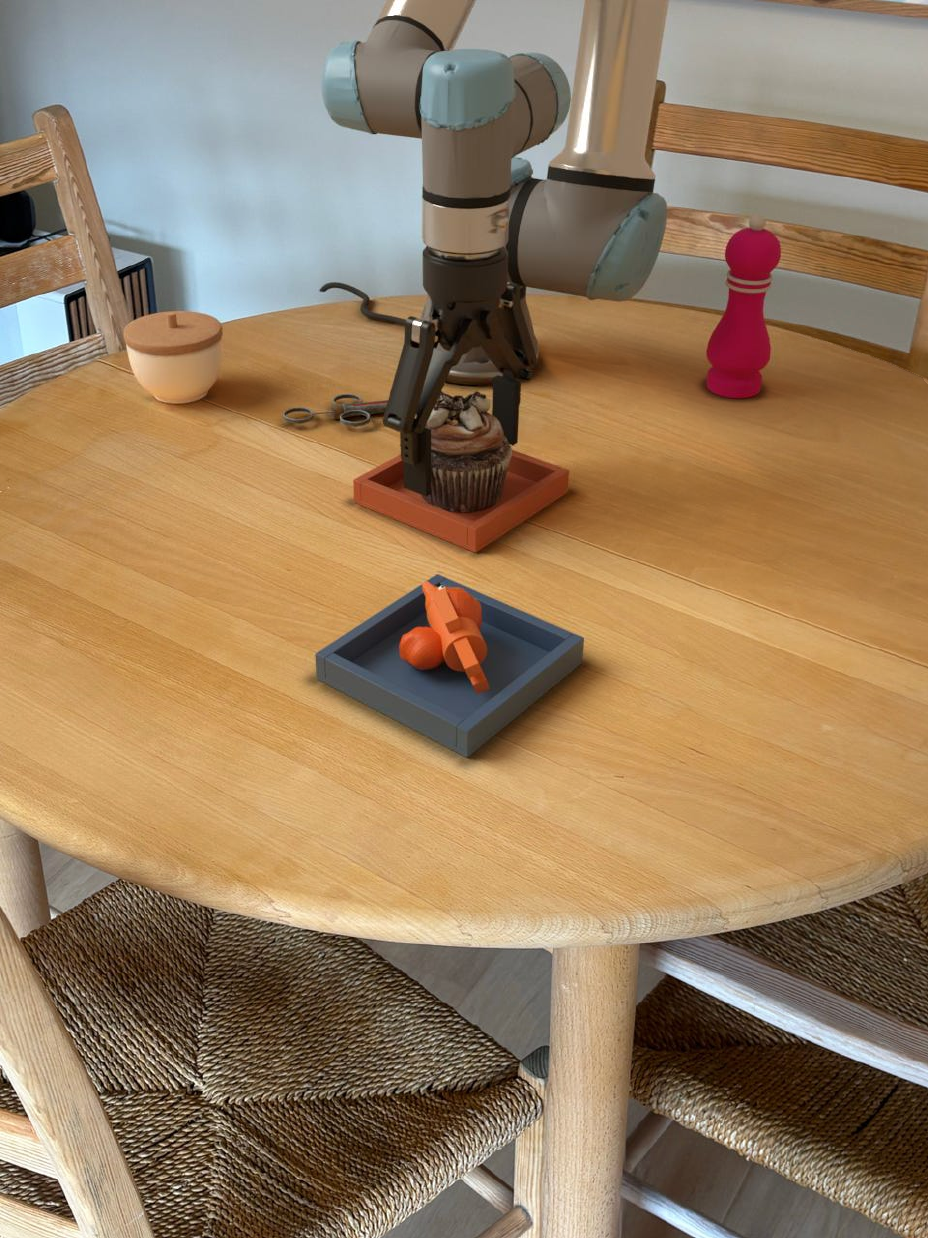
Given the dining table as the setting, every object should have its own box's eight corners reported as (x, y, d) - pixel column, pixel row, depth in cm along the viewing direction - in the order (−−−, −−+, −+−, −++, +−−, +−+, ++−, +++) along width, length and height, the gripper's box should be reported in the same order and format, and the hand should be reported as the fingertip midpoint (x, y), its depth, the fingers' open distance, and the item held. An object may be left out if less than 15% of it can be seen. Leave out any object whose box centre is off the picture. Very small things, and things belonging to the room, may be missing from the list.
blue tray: (316, 679, 98) (314, 653, 96) (437, 598, 107) (437, 573, 106) (467, 758, 90) (467, 731, 89) (582, 663, 100) (584, 637, 98)
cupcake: (415, 519, 118) (414, 422, 112) (410, 471, 126) (409, 378, 120) (515, 516, 118) (519, 419, 113) (504, 469, 126) (508, 376, 121)
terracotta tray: (353, 502, 121) (352, 479, 120) (449, 449, 131) (450, 427, 130) (475, 553, 114) (476, 529, 112) (568, 492, 123) (569, 469, 122)
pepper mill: (695, 394, 143) (718, 219, 132) (709, 371, 149) (732, 201, 138) (758, 404, 141) (786, 228, 130) (769, 381, 147) (798, 209, 136)
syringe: (452, 421, 137) (452, 407, 136) (289, 439, 132) (288, 424, 132) (434, 393, 143) (434, 379, 142) (278, 409, 139) (277, 395, 138)
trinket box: (163, 421, 136) (152, 339, 130) (115, 390, 142) (103, 310, 137) (246, 395, 141) (239, 315, 136) (196, 366, 148) (188, 289, 143)
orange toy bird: (501, 640, 91) (459, 557, 101) (407, 680, 91) (374, 593, 101) (519, 688, 94) (477, 603, 104) (428, 727, 94) (395, 639, 104)
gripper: (405, 294, 98) (409, 527, 110) (580, 221, 115) (567, 431, 127) (335, 273, 102) (346, 501, 114) (515, 206, 118) (508, 411, 130)
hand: (462, 464), depth 120 cm, fingers open, 13 cm apart
